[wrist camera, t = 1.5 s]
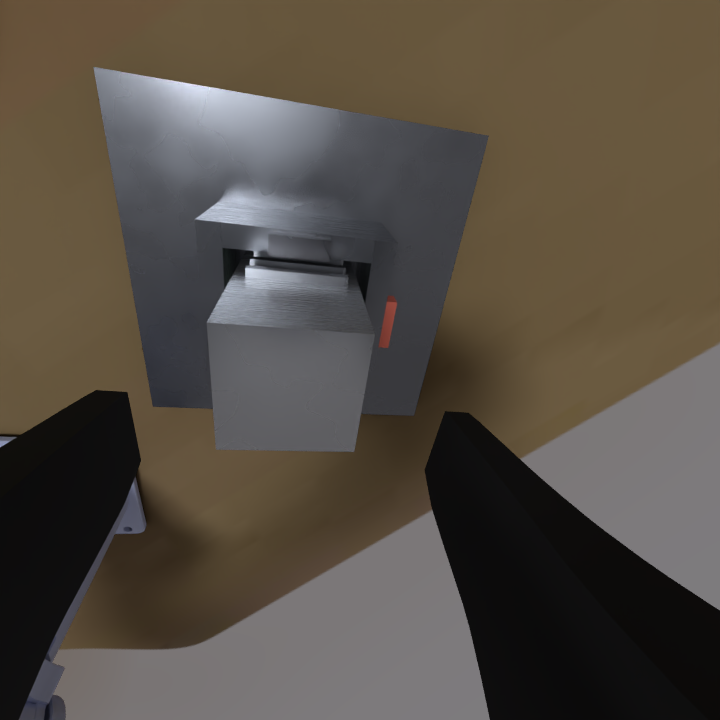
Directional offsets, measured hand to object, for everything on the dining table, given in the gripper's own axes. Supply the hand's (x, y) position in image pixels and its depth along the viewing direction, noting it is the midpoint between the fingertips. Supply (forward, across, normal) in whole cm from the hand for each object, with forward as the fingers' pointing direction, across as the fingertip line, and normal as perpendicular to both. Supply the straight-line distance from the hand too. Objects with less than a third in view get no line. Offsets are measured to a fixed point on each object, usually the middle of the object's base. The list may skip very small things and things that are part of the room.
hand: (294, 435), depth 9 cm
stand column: (+9, 0, 0) cm, 9 cm away
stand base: (+10, 0, 0) cm, 11 cm away
